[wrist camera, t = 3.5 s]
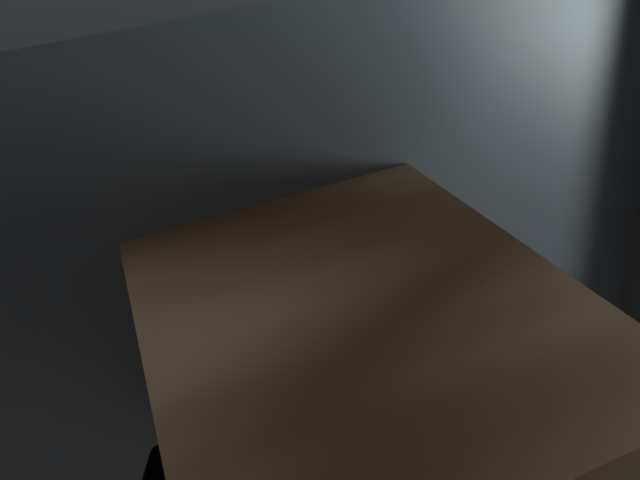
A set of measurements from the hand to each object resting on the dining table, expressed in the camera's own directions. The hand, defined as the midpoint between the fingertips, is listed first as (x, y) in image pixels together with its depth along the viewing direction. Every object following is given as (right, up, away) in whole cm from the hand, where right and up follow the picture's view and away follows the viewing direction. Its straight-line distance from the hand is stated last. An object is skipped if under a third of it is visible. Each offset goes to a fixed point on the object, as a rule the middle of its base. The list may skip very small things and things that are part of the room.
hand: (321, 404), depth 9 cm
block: (0, 0, +1) cm, 1 cm away
